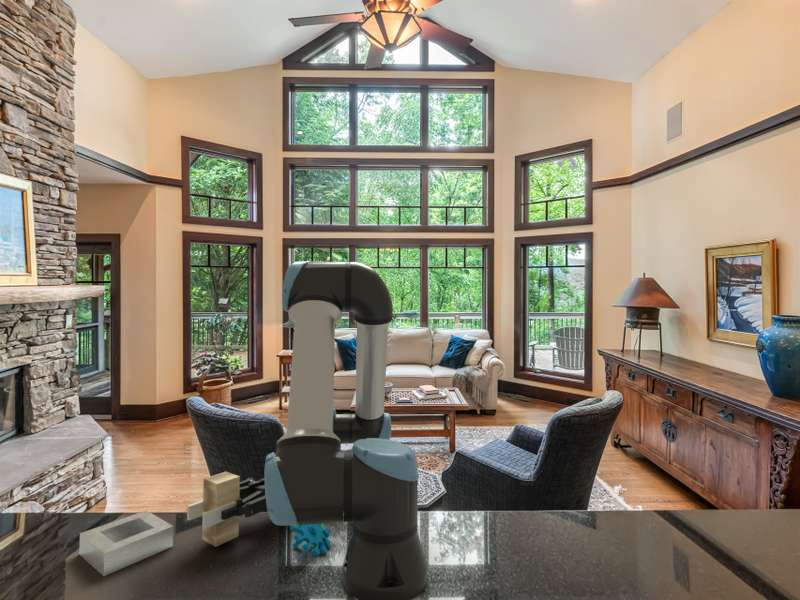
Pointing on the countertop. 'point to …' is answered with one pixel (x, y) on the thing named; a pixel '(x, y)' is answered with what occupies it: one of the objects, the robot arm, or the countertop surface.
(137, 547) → the grey square frame block
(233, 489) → the upright pine post
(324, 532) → the blue lumpy piece
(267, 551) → the countertop surface
